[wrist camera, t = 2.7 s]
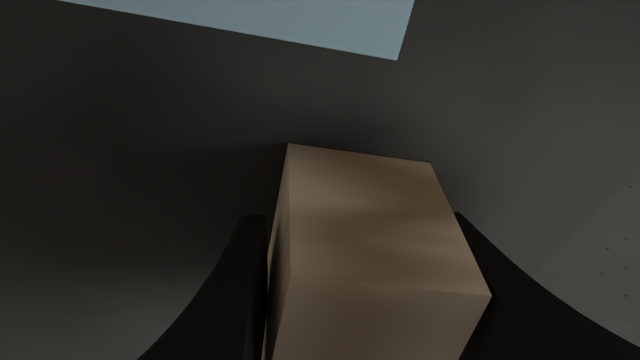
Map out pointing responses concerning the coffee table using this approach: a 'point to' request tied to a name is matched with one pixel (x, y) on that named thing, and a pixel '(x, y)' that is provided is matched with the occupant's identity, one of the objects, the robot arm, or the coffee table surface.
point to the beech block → (367, 262)
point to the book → (289, 20)
